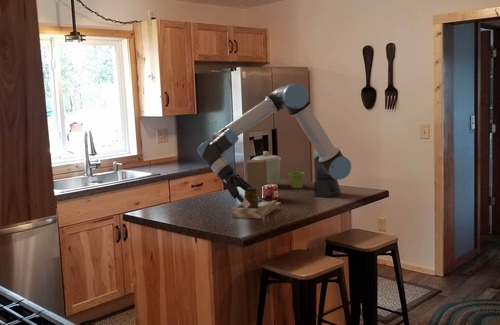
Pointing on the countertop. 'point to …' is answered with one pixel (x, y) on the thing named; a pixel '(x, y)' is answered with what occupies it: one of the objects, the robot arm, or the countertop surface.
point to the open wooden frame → (253, 210)
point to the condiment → (251, 197)
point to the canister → (271, 166)
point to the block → (257, 175)
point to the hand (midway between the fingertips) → (253, 204)
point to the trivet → (266, 203)
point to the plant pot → (296, 179)
